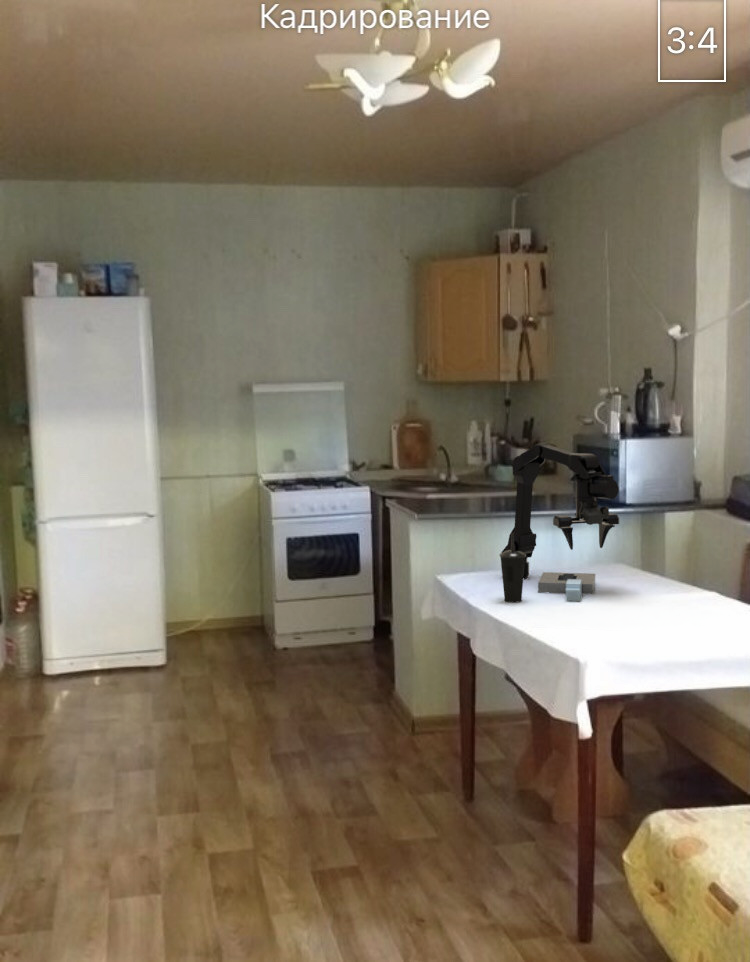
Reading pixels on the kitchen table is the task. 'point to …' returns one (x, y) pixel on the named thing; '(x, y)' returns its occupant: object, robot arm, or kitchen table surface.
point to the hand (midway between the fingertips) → (586, 548)
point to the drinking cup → (512, 573)
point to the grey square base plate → (559, 580)
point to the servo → (574, 589)
